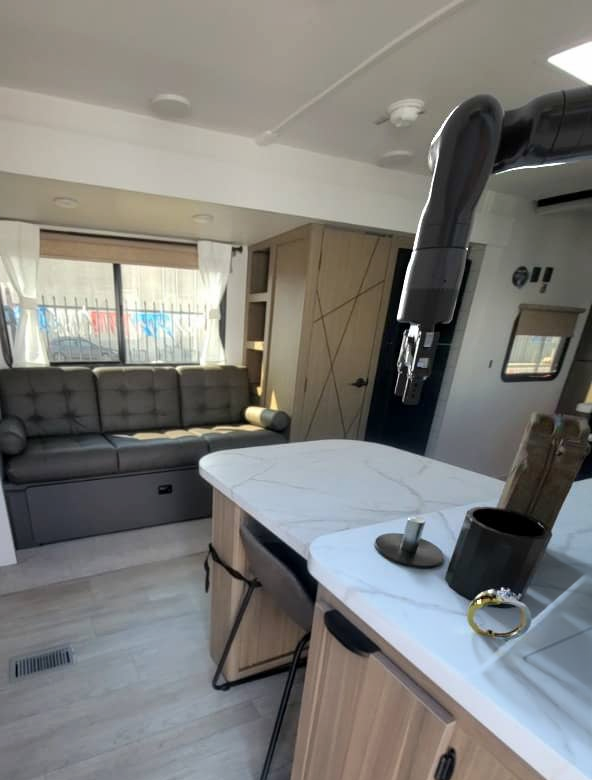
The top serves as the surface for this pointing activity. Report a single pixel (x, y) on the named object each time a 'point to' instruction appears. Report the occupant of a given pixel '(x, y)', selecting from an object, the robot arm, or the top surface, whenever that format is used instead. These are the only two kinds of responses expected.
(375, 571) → the top surface
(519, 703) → the top surface
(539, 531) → the tin
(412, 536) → the lid
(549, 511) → the weathered brown block
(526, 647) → the top surface
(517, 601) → the ring
